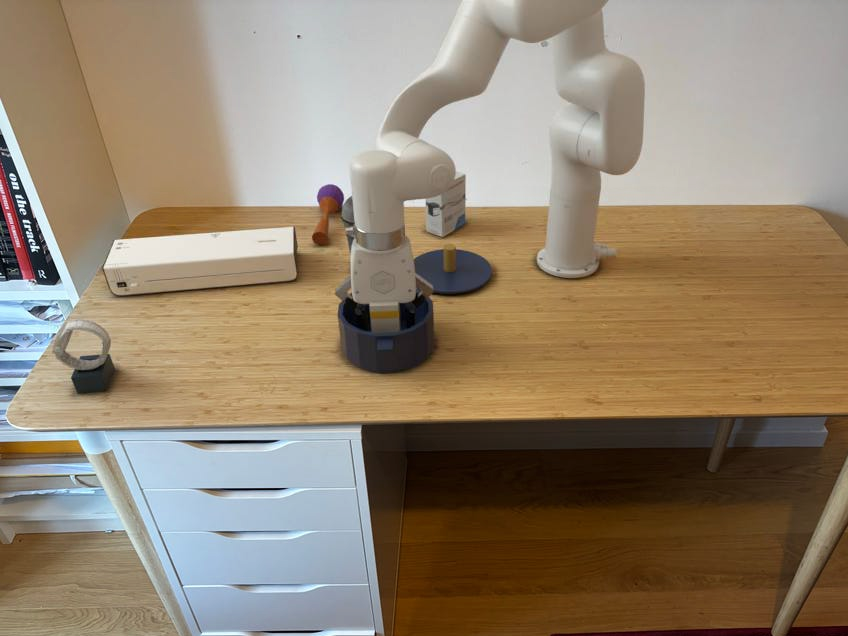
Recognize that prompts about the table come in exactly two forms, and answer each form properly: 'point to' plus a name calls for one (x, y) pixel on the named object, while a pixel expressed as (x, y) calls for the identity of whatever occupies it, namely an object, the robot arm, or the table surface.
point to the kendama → (327, 210)
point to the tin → (387, 340)
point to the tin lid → (453, 270)
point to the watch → (86, 358)
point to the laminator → (201, 261)
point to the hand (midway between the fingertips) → (387, 328)
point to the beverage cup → (348, 218)
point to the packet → (385, 317)
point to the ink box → (447, 208)
